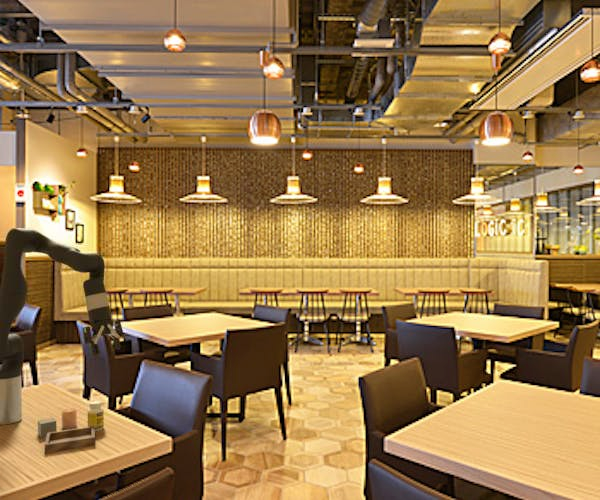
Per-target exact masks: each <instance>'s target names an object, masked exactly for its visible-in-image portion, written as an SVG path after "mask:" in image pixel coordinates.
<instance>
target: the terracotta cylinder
mask: <svg viewBox="0 0 600 500" xmlns="http://www.w3.org/2000/svg"><path fill="white" fill-rule="evenodd" d="M77 419H78V417H77V409H76V408H65V409H64V410H62V411H61V429H62V430H70V429H76V428H77V425H78V422H77V421H78V420H77Z"/></svg>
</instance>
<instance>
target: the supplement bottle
mask: <svg viewBox="0 0 600 500" xmlns="http://www.w3.org/2000/svg"><path fill="white" fill-rule="evenodd" d="M104 416H105V415H104V407H102V401H101V400H94V401H93V400H92V401H91V402H89V409H87V427H91V426H94V428H95V432H98V431H101V430H102V431H103V430H104V426H105V425H104Z"/></svg>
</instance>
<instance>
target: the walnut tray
mask: <svg viewBox="0 0 600 500" xmlns="http://www.w3.org/2000/svg"><path fill="white" fill-rule="evenodd" d="M95 432H96V431H95V428H94V426H91V427H88V426H85V427H79V428H77V427H76V428H72V429H62V430H57V431H56V432H49V433H47V436H46V437H45V441H44V454H46V455H47V454H52V453H57V452H62V451H63V452H64V451H65V452H66V451H71V450H76V449H83V448H89V447H95V446H96V435H95Z"/></svg>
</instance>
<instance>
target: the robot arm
mask: <svg viewBox="0 0 600 500" xmlns="http://www.w3.org/2000/svg"><path fill="white" fill-rule="evenodd" d="M25 253H26V254H29V253H39V254H45V255H47V256H48V257H49V258H50V259H51V260H52V261H54V262H56V263H59V264H62V265H65V266H68V267H69V268H70V269H72V270H73V271H75V272H78V273H81V274H83V273H84V274H85V273H87V274H89V277H88V279H86V280H84V281H83V284H82V288H83V293H84V298H85V306H86V311H87V316H88V321H89V323H90V326H88V325H87V326H85V327H83V328H82V332H83V340H84V345H90V346H91V351H92V354H93V355H94V356H98V355H99V356H100V347H99V344H98V342H99V339H100V338H101V337H102V336H108V337H111V338H112V339H113V340H112V342H113V347H114V350H116V351H117V350H121V346H122V344H121V340H120V338H121V337H122V336H124V330H123V327H122V324H121V320H120V319H117V320H116V319H115V320H114V321H113V320H112V317H113V316H112V311H111V307H110V301H109V299H108V298H109V297H108V296H107V295H108V294H107V291H106V287H105V282H104V281H105V268H106V267H105V260H104V258H103V256H102V255H101V254H99V253H98V252H81V250H79V248H77V247H75V246H71V245H68V244H65V243H61V242H59V241H57V240H54V239H53V238H50V237H49V236H46V235H44V234H43V233H41V232H40V231H37V229H36V230H35V229H34V228H20V227H18V228H17V227H16V228H14V227H13V228H11V229H10V230H9V231H8V232H7V235H6V237H5V242H4V259H3V270H2V276H1V277H2V278H1V283H0V361H3V362H2V364H0V426H1V425H9V424H13V423H17V422H20V421H22V419H23V406H22V405H23V401H22V400H23V399H22V398H23V397H22V369H23V368H24V353H25V352H24V351H25V349H24V347H25V346H24V341H23V339H22V337H21V336H20V335H19V334H18V333H10V331H11V327H12V325H13V324H14V322H15V321H16V319H17V317H18V316H19V315H20V313H21V312H22V311H23V309H24V307H25V305H26V302H27V296H28V289H29V285H28V281H27V279H26V277H25V275H24V273H23V271H22V256H23V254H25Z"/></svg>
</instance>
